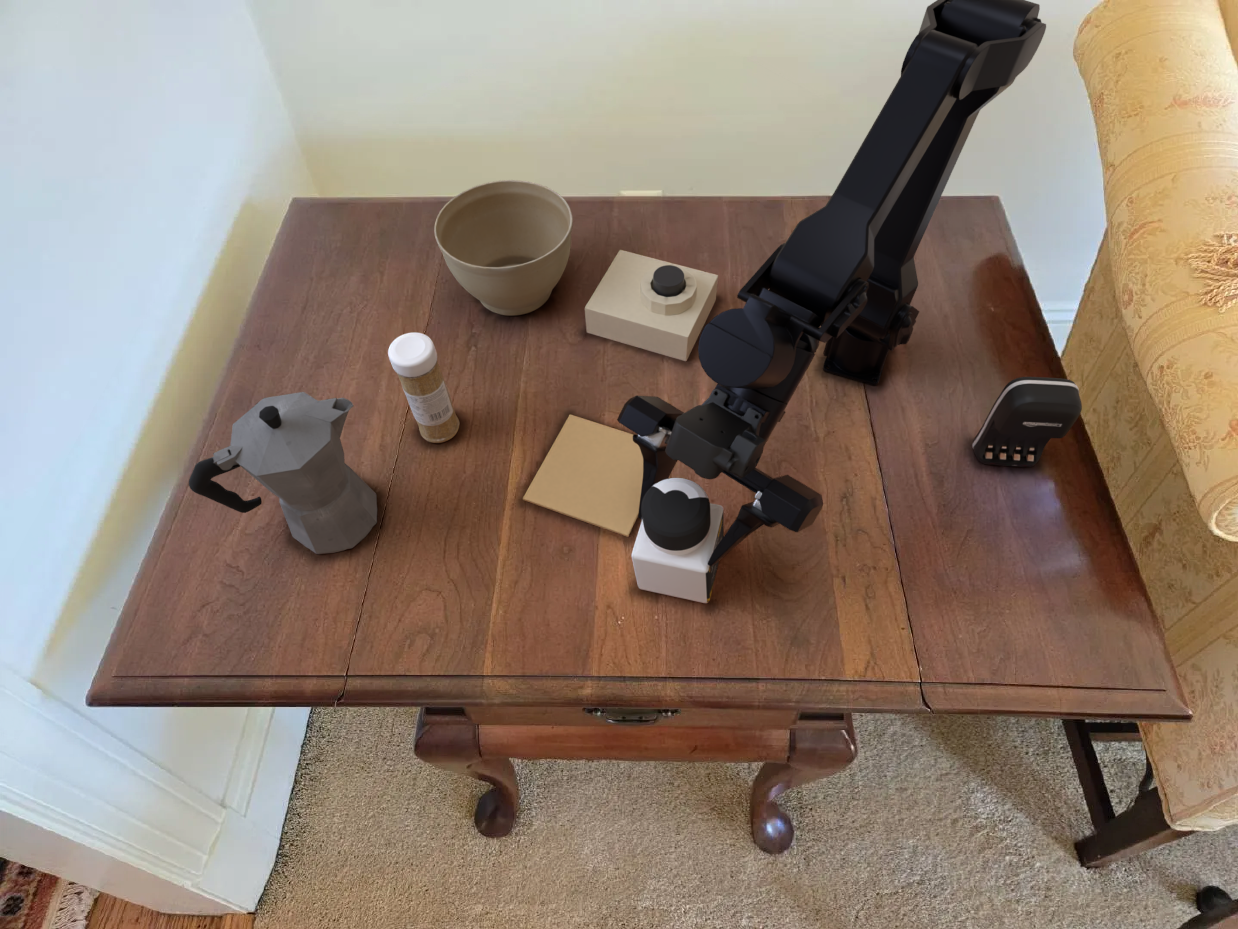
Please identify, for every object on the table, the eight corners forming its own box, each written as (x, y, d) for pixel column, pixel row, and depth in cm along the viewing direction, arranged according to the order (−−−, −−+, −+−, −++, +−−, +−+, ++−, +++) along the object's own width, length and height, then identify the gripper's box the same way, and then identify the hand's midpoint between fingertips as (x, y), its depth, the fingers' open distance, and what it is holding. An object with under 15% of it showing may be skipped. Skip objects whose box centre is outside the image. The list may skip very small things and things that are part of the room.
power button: (687, 280, 92) (688, 269, 90) (677, 300, 90) (678, 289, 89) (659, 273, 93) (659, 261, 91) (648, 292, 91) (648, 281, 89)
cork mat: (669, 448, 85) (669, 445, 85) (628, 537, 79) (628, 535, 79) (570, 416, 88) (569, 414, 88) (523, 500, 82) (522, 498, 82)
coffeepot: (376, 457, 86) (320, 345, 71) (412, 518, 81) (360, 412, 66) (240, 525, 81) (149, 421, 66) (270, 594, 77) (179, 499, 62)
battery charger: (973, 470, 83) (1017, 404, 73) (968, 441, 85) (1009, 373, 75) (1041, 475, 82) (1093, 408, 73) (1034, 445, 84) (1084, 377, 75)
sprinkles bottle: (454, 408, 89) (428, 325, 78) (464, 438, 87) (437, 357, 76) (415, 419, 88) (383, 337, 77) (424, 450, 86) (391, 370, 75)
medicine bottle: (708, 605, 74) (706, 546, 64) (637, 589, 76) (624, 529, 66) (724, 541, 78) (724, 475, 68) (655, 527, 80) (645, 461, 70)
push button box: (715, 300, 98) (719, 263, 93) (686, 361, 92) (688, 326, 87) (620, 274, 101) (619, 237, 96) (586, 332, 95) (583, 296, 90)
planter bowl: (603, 293, 99) (600, 224, 90) (500, 356, 93) (485, 289, 84) (529, 231, 106) (518, 161, 97) (428, 286, 100) (408, 217, 91)
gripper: (629, 329, 62) (550, 495, 66) (834, 446, 55) (731, 622, 59) (683, 341, 72) (611, 484, 76) (862, 441, 65) (772, 593, 69)
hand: (675, 540), depth 70 cm, fingers closed on medicine bottle, 7 cm apart
